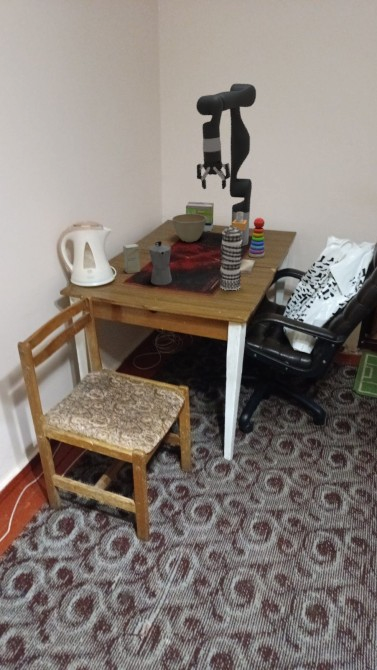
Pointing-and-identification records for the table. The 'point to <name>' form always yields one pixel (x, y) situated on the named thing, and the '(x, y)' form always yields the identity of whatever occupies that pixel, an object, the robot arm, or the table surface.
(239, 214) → the post stand
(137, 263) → the skincare box
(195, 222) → the beige bowl
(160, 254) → the coffeepot
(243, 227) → the collar
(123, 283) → the table surface
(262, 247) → the stacking toy
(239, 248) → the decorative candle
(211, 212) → the tea box
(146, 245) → the table surface
